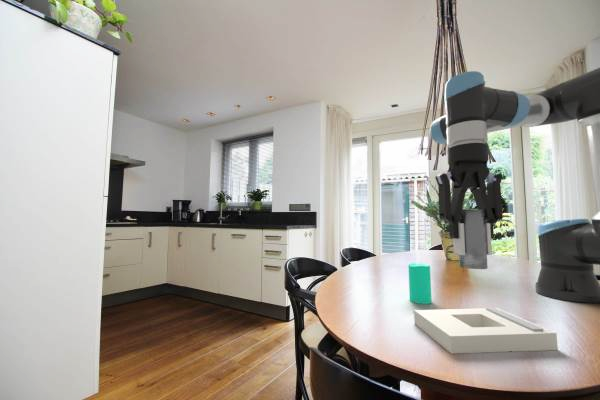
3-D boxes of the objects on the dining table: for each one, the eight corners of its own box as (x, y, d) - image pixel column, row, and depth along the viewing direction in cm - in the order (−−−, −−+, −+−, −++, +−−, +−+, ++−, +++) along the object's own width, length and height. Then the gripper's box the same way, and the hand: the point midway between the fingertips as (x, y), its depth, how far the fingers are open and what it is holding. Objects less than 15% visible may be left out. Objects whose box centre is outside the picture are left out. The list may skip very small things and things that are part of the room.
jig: (498, 321, 63) (497, 306, 63) (557, 349, 49) (556, 330, 49) (414, 323, 62) (413, 308, 62) (451, 353, 48) (450, 333, 48)
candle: (434, 304, 76) (432, 261, 77) (411, 303, 77) (410, 260, 78) (428, 298, 82) (427, 258, 83) (407, 297, 83) (406, 257, 84)
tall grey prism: (476, 264, 59) (473, 210, 60) (493, 269, 54) (490, 209, 55) (454, 265, 59) (451, 210, 60) (469, 269, 54) (466, 209, 55)
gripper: (493, 150, 63) (499, 251, 61) (418, 150, 62) (421, 252, 60) (521, 141, 55) (529, 256, 53) (435, 140, 54) (440, 257, 53)
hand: (472, 253), depth 57 cm, fingers closed on tall grey prism, 5 cm apart
